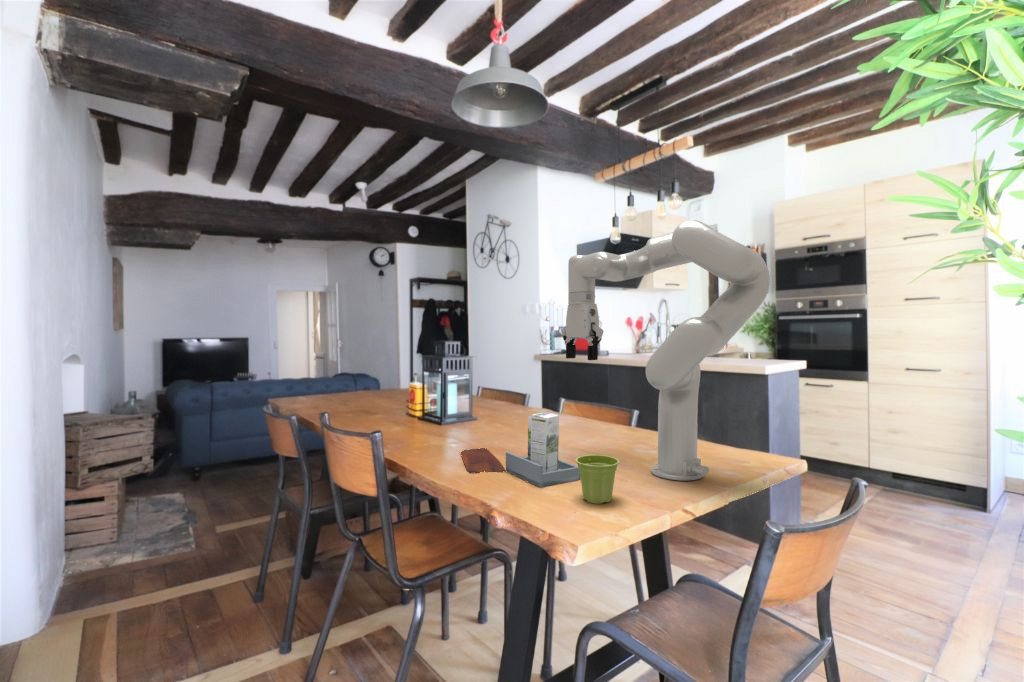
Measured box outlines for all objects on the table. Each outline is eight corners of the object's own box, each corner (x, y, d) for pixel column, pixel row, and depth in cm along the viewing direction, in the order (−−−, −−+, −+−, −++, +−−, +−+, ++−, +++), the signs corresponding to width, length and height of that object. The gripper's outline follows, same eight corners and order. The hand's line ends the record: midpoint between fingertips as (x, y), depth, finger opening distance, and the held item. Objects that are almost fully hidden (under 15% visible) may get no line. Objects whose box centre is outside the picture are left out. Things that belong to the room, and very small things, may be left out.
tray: (580, 479, 125) (580, 459, 125) (539, 487, 119) (539, 466, 119) (544, 464, 139) (544, 446, 138) (505, 471, 132) (505, 452, 132)
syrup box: (539, 467, 133) (539, 411, 132) (559, 471, 129) (559, 414, 129) (527, 472, 128) (527, 414, 128) (546, 476, 125) (546, 417, 124)
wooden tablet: (506, 474, 132) (506, 468, 132) (468, 476, 130) (468, 470, 130) (489, 449, 158) (490, 444, 158) (457, 451, 156) (457, 446, 156)
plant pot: (570, 504, 108) (571, 463, 108) (580, 490, 117) (580, 453, 117) (615, 509, 105) (615, 467, 105) (621, 495, 114) (622, 456, 113)
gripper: (612, 298, 140) (612, 360, 140) (572, 301, 155) (572, 357, 155) (591, 297, 136) (591, 361, 137) (552, 300, 151) (552, 358, 151)
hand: (581, 359), depth 146 cm, fingers open, 9 cm apart
